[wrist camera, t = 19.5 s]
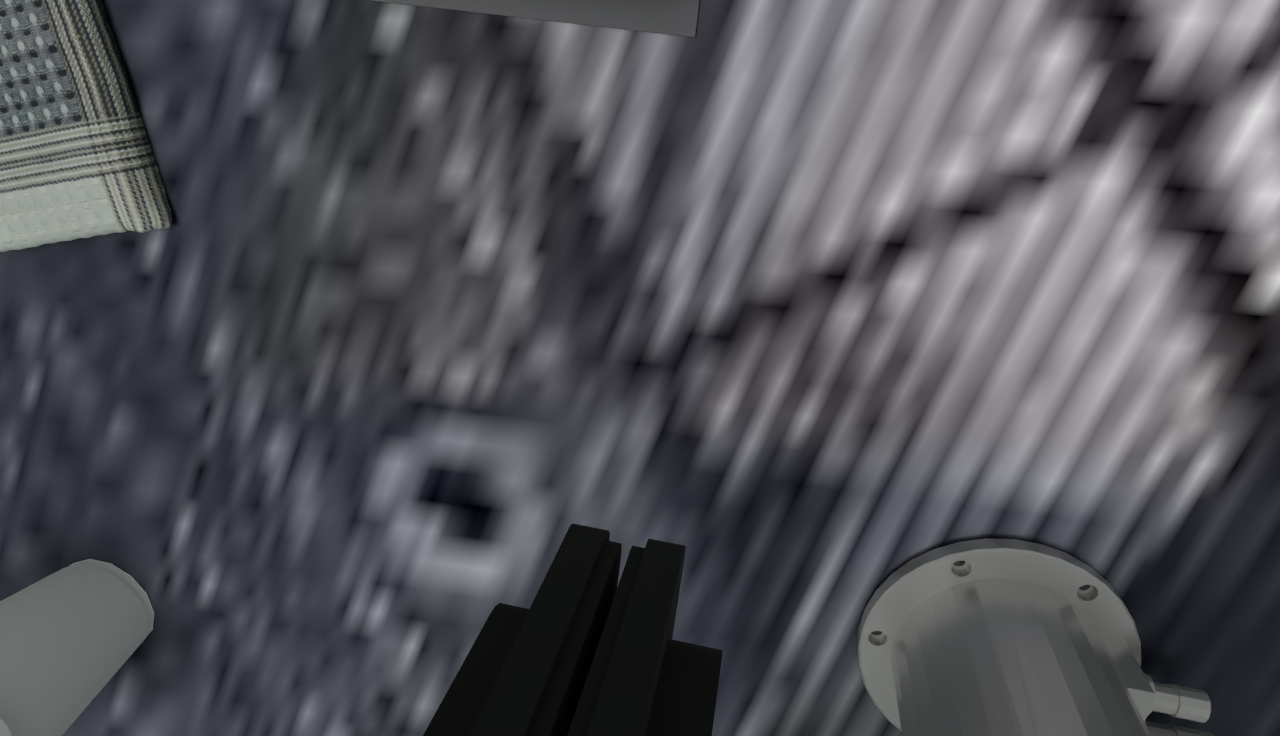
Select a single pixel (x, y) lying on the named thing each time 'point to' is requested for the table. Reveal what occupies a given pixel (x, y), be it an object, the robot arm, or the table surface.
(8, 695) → the foam cup
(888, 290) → the table surface
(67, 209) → the dish towel
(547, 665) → the robot arm
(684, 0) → the dock mat
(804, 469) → the table surface
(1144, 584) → the table surface
